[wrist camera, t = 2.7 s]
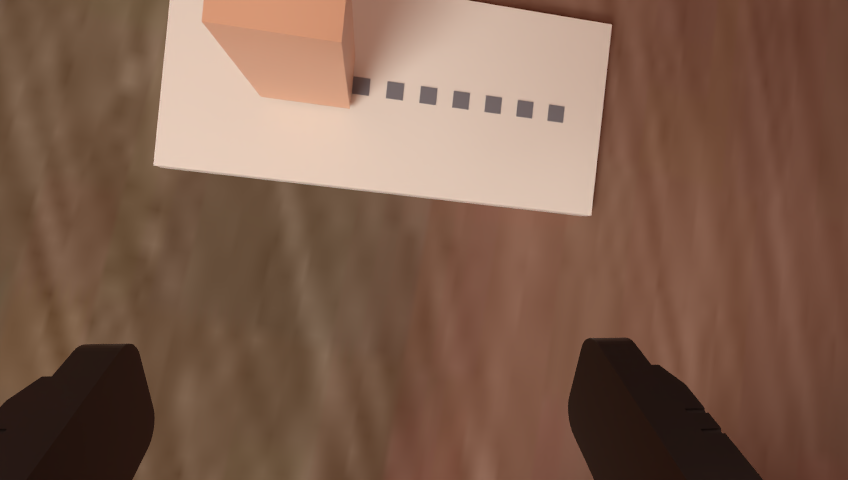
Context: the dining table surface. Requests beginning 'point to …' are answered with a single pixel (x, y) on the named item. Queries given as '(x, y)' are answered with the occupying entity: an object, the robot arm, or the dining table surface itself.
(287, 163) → the board
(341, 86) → the tall salmon pink block
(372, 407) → the dining table surface
